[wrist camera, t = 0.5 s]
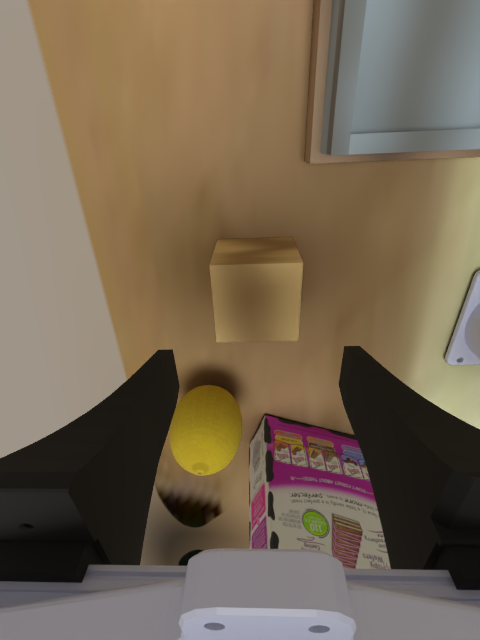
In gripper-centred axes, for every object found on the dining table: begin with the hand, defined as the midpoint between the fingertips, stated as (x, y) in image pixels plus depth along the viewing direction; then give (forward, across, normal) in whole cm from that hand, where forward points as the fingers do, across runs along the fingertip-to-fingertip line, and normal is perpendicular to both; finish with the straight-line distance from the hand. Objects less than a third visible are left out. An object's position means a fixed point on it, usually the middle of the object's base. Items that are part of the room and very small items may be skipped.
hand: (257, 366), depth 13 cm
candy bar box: (+11, -5, +18) cm, 21 cm away
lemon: (+11, +4, +11) cm, 16 cm away
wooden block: (+10, 0, 0) cm, 11 cm away
